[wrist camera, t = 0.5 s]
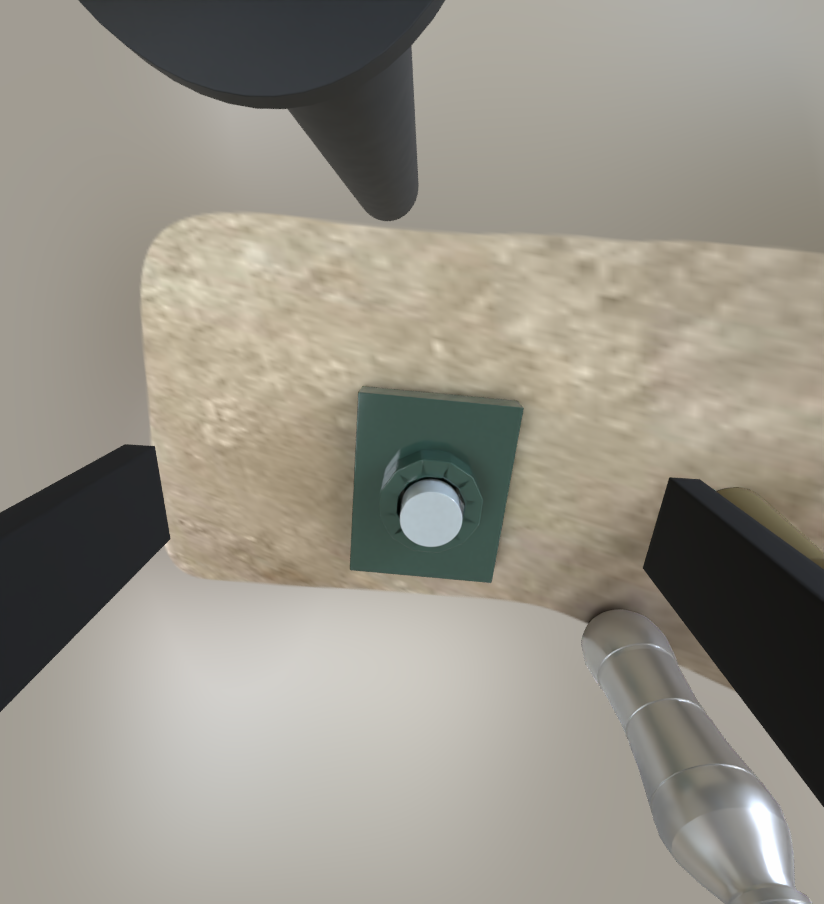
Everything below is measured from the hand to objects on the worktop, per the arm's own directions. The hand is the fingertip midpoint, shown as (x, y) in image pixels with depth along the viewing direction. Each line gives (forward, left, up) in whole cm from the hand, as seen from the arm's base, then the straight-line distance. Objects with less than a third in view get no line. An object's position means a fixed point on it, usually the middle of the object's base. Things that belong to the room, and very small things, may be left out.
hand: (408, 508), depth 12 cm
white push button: (+8, +2, -17) cm, 19 cm away
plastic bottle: (+20, +19, -20) cm, 34 cm away
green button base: (+8, +2, -20) cm, 22 cm away
